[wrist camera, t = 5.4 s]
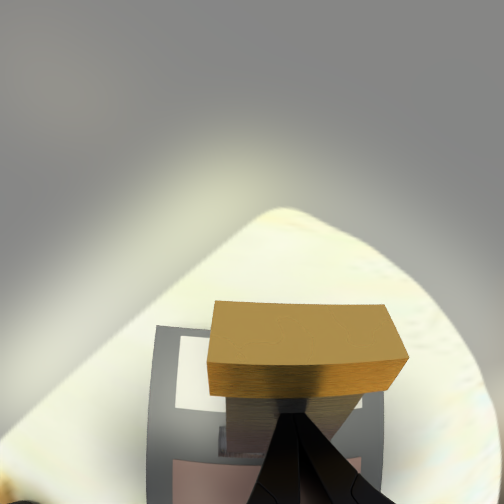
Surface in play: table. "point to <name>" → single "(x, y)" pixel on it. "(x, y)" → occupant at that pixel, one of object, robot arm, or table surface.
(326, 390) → the breaker lever
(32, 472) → the table surface
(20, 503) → the beverage can
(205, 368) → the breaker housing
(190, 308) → the table surface
